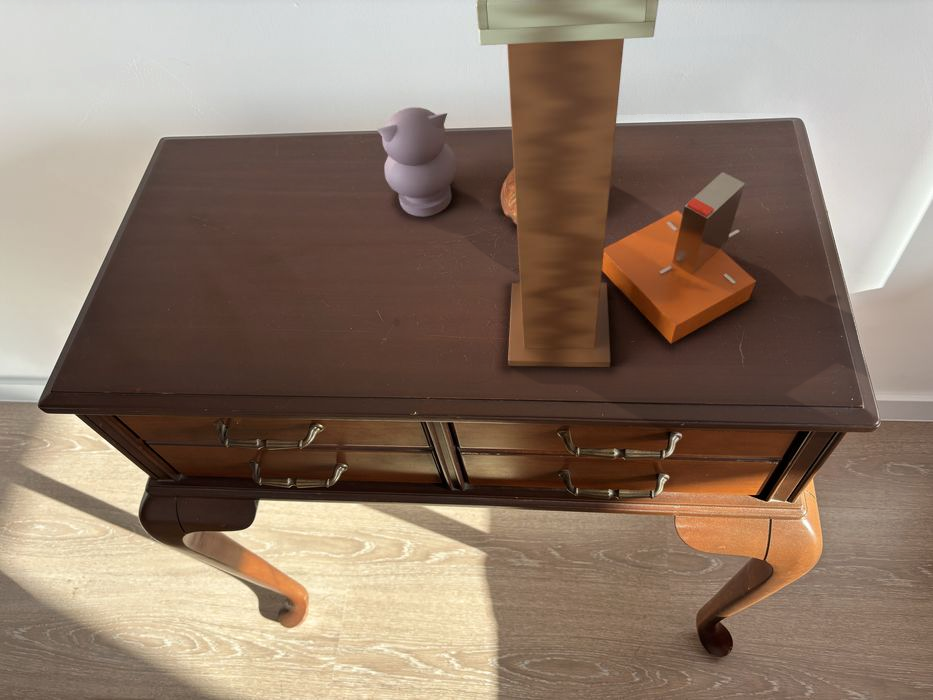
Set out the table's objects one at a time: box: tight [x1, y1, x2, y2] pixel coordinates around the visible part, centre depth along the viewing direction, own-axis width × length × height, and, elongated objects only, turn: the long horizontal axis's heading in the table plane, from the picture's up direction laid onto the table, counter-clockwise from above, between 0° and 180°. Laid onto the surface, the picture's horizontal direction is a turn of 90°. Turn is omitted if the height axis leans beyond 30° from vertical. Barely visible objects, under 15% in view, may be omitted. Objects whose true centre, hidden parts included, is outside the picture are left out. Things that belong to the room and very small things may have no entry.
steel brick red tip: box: [672, 171, 746, 275], centre depth 68 cm, size 6×2×8 cm, turn 134°
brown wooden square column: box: [475, 0, 659, 368], centre depth 56 cm, size 10×10×38 cm
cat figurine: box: [376, 106, 458, 218], centre depth 80 cm, size 8×8×12 cm
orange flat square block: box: [602, 210, 757, 344], centre depth 72 cm, size 12×13×3 cm
